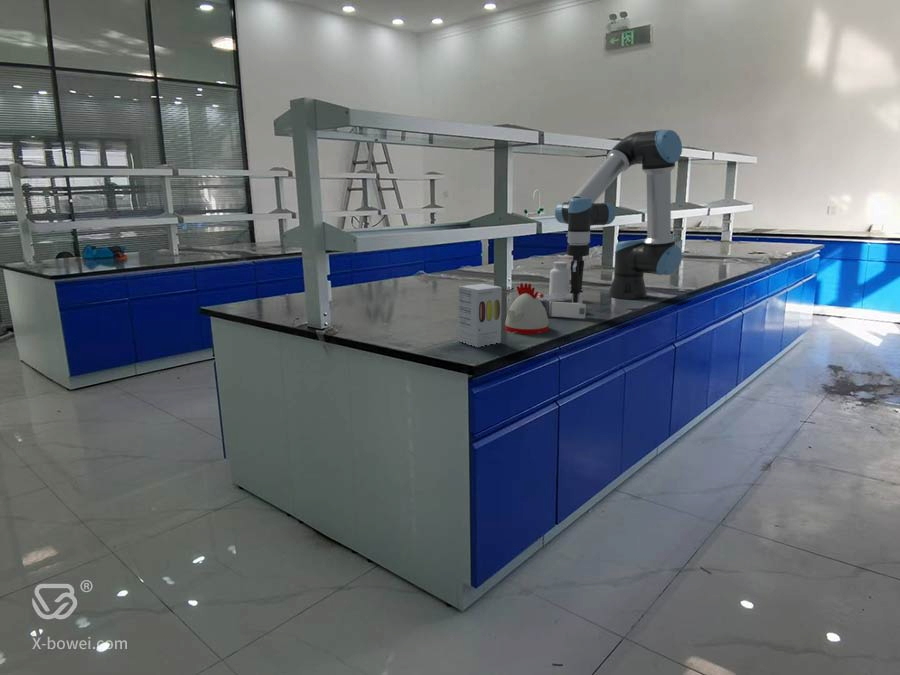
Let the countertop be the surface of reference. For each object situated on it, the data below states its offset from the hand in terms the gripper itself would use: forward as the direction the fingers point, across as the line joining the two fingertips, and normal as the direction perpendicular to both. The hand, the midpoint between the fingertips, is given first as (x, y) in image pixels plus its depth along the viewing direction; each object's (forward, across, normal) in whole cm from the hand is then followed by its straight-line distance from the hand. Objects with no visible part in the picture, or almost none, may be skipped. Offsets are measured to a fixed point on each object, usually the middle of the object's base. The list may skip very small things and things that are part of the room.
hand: (575, 311), depth 214 cm
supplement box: (+2, +47, -20) cm, 51 cm away
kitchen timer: (+2, +25, -11) cm, 28 cm away
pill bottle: (+2, -32, -13) cm, 35 cm away
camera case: (+2, -4, -9) cm, 10 cm away
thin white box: (+2, +5, -2) cm, 5 cm away
